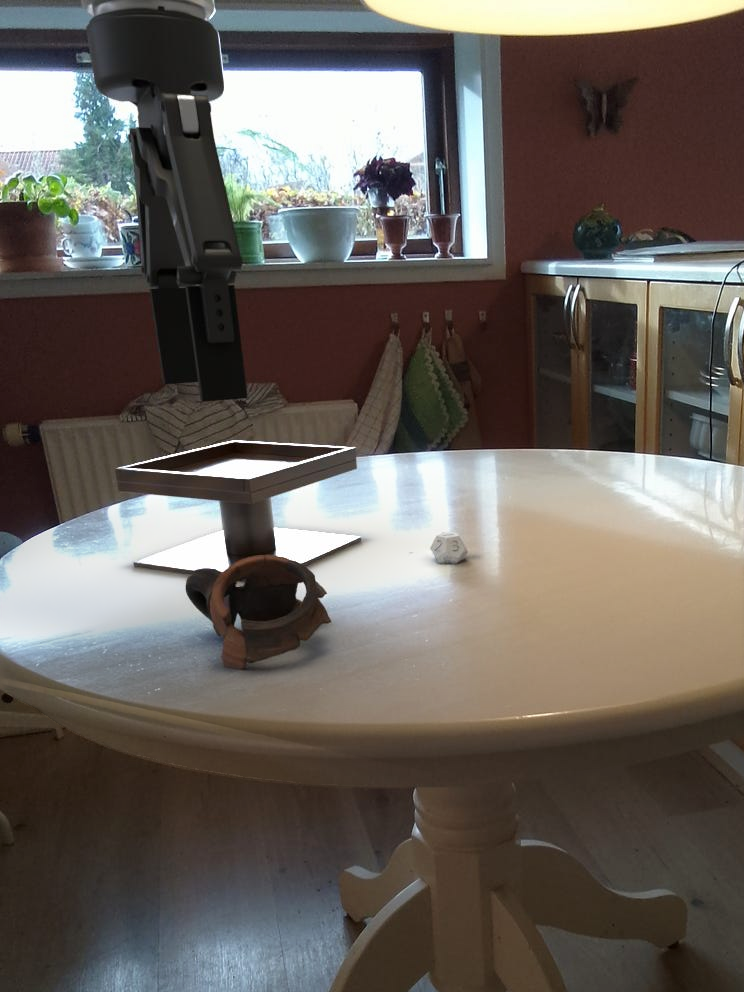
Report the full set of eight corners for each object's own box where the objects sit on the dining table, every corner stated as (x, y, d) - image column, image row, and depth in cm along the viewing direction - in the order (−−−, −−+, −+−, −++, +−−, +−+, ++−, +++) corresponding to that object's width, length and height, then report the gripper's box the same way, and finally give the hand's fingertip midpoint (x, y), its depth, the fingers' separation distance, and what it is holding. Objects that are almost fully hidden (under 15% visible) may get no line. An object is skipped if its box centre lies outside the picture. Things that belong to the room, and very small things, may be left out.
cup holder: (131, 573, 90) (113, 468, 86) (243, 531, 104) (232, 440, 100) (262, 591, 83) (249, 478, 79) (363, 544, 97) (356, 447, 93)
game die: (428, 561, 91) (426, 531, 90) (465, 558, 91) (464, 528, 90) (433, 571, 87) (431, 540, 86) (471, 568, 88) (470, 537, 87)
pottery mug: (355, 634, 73) (350, 563, 67) (299, 726, 68) (288, 657, 61) (221, 588, 76) (204, 515, 69) (156, 673, 70) (131, 602, 63)
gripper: (270, -37, 46) (311, 403, 53) (179, 69, 67) (218, 374, 74) (110, -56, 43) (177, 414, 50) (67, 61, 63) (119, 380, 71)
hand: (201, 391), depth 62 cm, fingers open, 13 cm apart
